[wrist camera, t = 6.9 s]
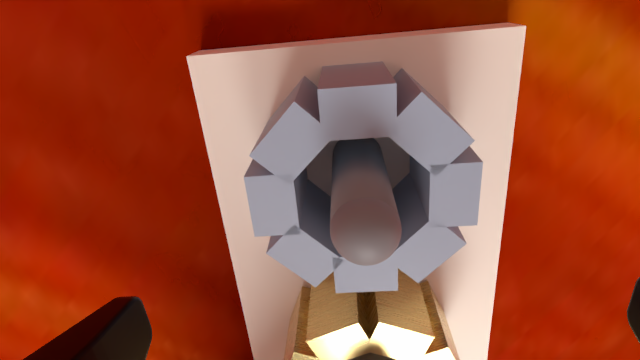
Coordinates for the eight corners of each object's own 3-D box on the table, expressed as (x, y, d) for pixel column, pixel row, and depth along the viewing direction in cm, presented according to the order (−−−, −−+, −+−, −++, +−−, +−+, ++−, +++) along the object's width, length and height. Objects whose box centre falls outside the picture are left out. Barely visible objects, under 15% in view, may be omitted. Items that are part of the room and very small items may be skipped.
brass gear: (462, 347, 18) (487, 421, 15) (333, 388, 20) (332, 463, 17) (406, 239, 16) (423, 299, 13) (265, 294, 18) (249, 361, 14)
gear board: (474, 354, 21) (540, 528, 14) (264, 360, 21) (231, 527, 15) (508, 22, 14) (664, 50, 7) (200, 50, 15) (85, 98, 8)
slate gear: (444, 228, 16) (471, 287, 13) (279, 237, 16) (265, 295, 13) (454, 55, 13) (490, 76, 10) (254, 71, 14) (228, 96, 10)
